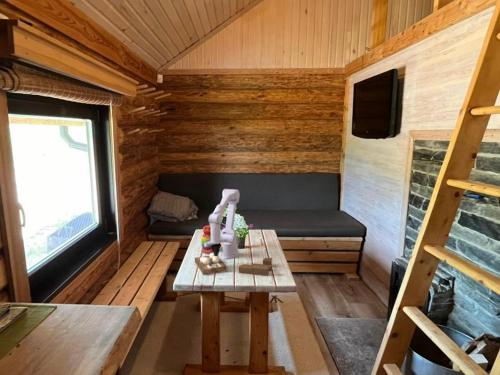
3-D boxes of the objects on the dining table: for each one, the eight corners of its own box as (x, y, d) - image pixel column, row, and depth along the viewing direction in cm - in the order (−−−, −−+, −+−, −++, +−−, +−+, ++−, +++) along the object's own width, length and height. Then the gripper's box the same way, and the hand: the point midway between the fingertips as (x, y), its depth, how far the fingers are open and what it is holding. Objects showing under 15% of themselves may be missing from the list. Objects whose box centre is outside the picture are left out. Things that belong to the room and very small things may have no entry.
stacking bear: (209, 254, 214) (208, 228, 211) (197, 251, 219) (197, 226, 216) (219, 249, 223) (219, 224, 220) (207, 247, 228) (207, 222, 225)
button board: (216, 258, 207) (216, 253, 206) (226, 270, 189) (226, 265, 188) (194, 262, 201) (194, 256, 201) (203, 275, 183) (203, 269, 182)
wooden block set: (269, 267, 181) (238, 264, 185) (269, 277, 182) (238, 274, 186) (273, 256, 197) (245, 254, 201) (273, 265, 198) (245, 262, 202)
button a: (206, 262, 200) (205, 256, 199) (207, 264, 196) (207, 258, 196) (199, 263, 198) (199, 257, 198) (201, 265, 195) (201, 259, 194)
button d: (218, 261, 196) (218, 255, 196) (220, 263, 193) (220, 257, 192) (211, 262, 195) (211, 256, 194) (213, 264, 191) (213, 258, 191)
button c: (215, 257, 202) (215, 252, 201) (217, 259, 198) (217, 254, 198) (209, 258, 200) (208, 253, 200) (210, 260, 197) (210, 255, 196)
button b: (208, 262, 194) (208, 257, 193) (210, 265, 190) (210, 259, 190) (202, 263, 192) (202, 258, 192) (203, 266, 189) (203, 260, 188)
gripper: (221, 230, 198) (222, 251, 201) (201, 234, 189) (201, 256, 191) (228, 232, 193) (228, 254, 195) (207, 237, 184) (208, 260, 186)
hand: (215, 255), depth 193 cm, fingers closed
